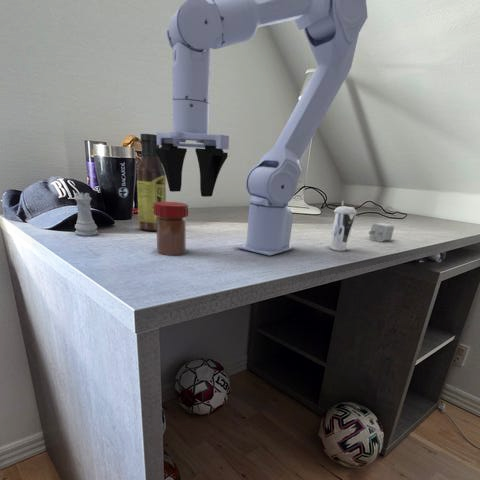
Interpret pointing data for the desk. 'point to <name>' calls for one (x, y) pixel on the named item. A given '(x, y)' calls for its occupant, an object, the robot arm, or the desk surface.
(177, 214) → the cap
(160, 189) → the sauce bottle
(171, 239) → the jar
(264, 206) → the robot arm
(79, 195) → the rook chess piece
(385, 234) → the usb wall charger
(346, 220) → the milkshake
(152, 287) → the desk surface
